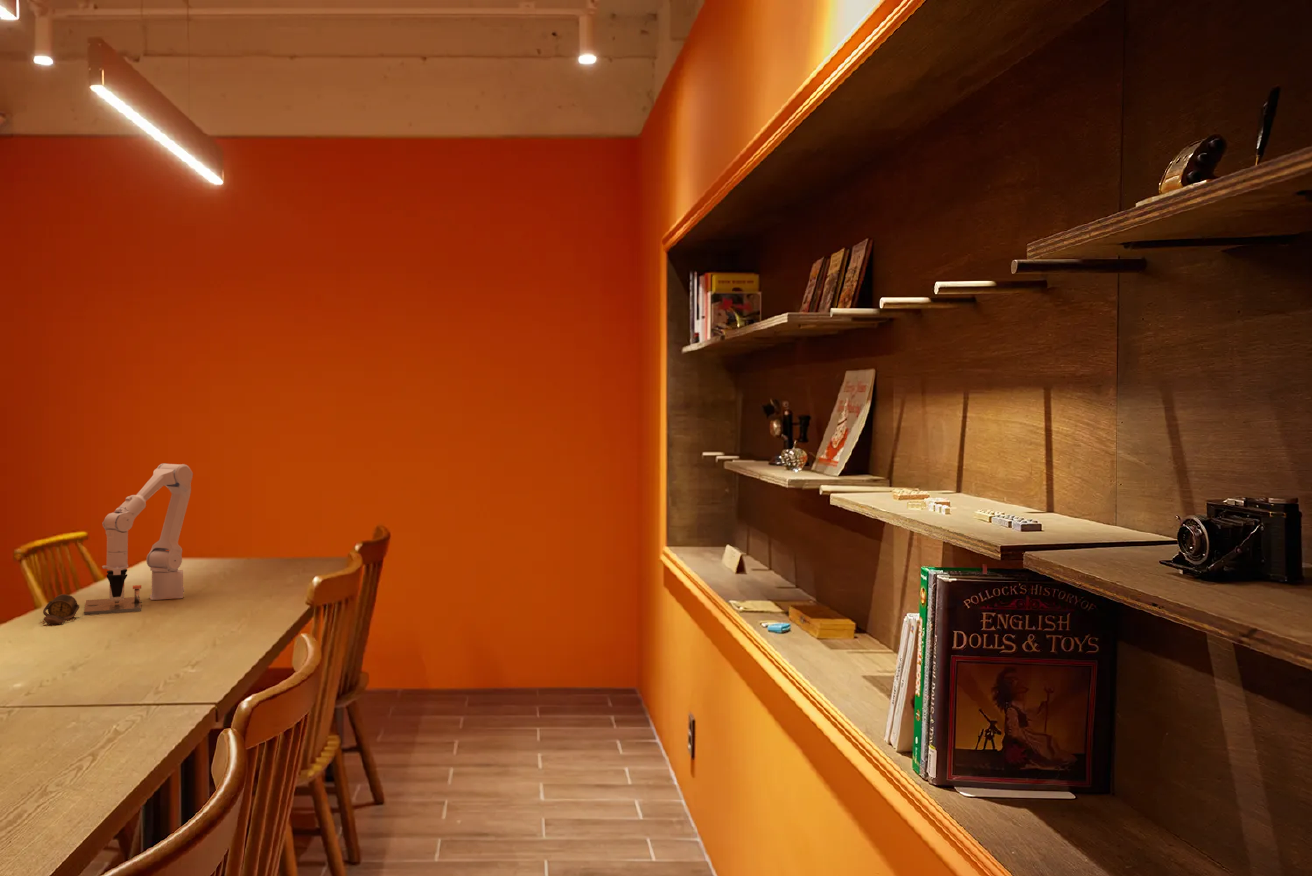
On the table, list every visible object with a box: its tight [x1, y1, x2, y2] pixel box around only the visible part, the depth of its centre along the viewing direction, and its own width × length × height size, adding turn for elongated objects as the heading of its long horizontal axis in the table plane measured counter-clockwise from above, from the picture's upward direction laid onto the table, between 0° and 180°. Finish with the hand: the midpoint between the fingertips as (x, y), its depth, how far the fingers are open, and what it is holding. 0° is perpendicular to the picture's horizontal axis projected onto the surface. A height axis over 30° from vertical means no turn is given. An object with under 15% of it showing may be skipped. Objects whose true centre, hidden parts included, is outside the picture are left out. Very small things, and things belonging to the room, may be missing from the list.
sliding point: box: [109, 583, 125, 603], centre depth 301 cm, size 4×4×6 cm
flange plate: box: [83, 584, 143, 616], centre depth 301 cm, size 15×20×6 cm
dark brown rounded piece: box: [42, 593, 80, 626], centre depth 281 cm, size 7×13×10 cm
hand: (116, 594), depth 301 cm, fingers open, 7 cm apart
